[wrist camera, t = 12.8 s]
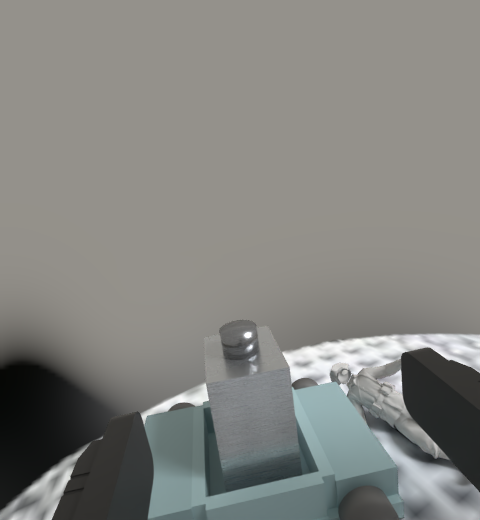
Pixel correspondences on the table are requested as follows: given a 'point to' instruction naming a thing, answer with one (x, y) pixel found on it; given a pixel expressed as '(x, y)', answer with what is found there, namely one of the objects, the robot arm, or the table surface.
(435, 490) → the table surface
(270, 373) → the knobbed metal block
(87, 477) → the robot arm
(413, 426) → the soldier figure
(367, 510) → the chassis
